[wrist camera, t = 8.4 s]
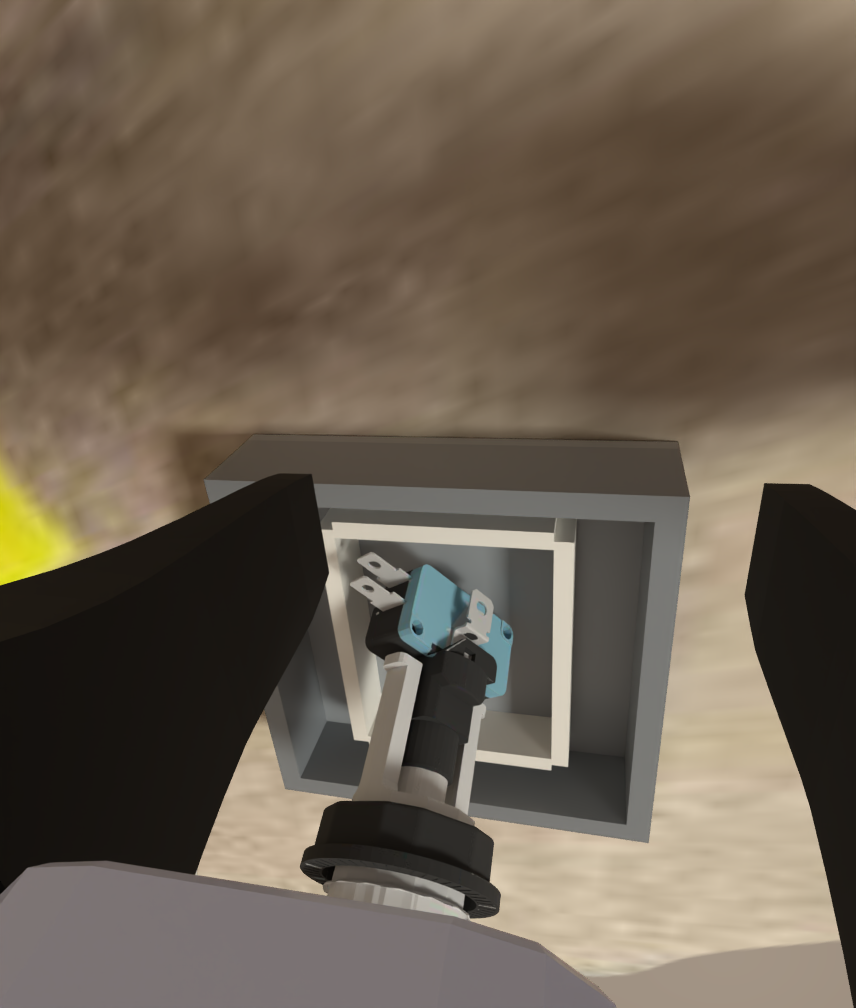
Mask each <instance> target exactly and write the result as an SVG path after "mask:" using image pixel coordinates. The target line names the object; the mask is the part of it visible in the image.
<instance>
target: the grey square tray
mask: <svg viewBox="0 0 856 1008" xmlns="http://www.w3.org/2000/svg"><path fill="white" fill-rule="evenodd" d="M278 473H291V474H312V478H313V483H314V489H315V495H316V500H317V506H318V512H319V517H320V522H321V521H322V519H323V518H324V516H325V515H326V513H327V512H328V511H329V509H330V508H342V509H365V510H388V511H410V512H433V513H455V514H478V515H501V516H523V517H546V518H568V519H577V529H576V562H575V595H574V628H573V662H572V695H571V727H570V743H569V760H568V767H564V766H556V765H552V767H551V770H543V769H535V768H527V767H520V766H512V765H504V764H497V763H489V762H481V761H475V765H474V773H473V780H472V787H471V794H470V801H469V808H468V816H470V817H477V818H483V819H490V820H497V821H504V822H510V823H517V824H524V825H531V826H537V827H544V828H551V829H557V830H564V831H571V832H578V833H584V834H591V835H598V836H605V837H611V838H618V839H625V840H631V841H638V842H645V843H649V835H650V827H651V818H652V810H653V802H654V793H655V785H656V777H657V768H658V760H659V752H660V743H661V735H662V727H663V718H664V710H665V702H666V693H667V685H668V677H669V668H670V660H671V651H672V643H673V635H674V626H675V618H676V610H677V601H678V593H679V585H680V576H681V568H682V560H683V551H684V543H685V535H686V526H687V518H688V510H689V501H690V495H689V490H688V485H687V481H686V476H685V472H684V467H683V462H682V458H681V453H680V448H679V444H678V442H658V441H602V440H547V439H491V438H435V437H380V436H324V435H268V434H254V435H252V436H251V437H250V438H249V439H248V440H247V441H246V442H245V443H244V444H243V445H241V446H240V447H239V448H238V449H237V450H236V451H235V452H234V453H233V454H231V455H230V456H229V457H228V458H227V459H226V460H225V461H224V462H223V463H222V464H220V465H219V466H218V467H217V468H216V469H215V470H214V471H213V472H212V473H210V474H209V475H208V476H207V477H206V478H205V479H204V483H205V487H206V491H207V494H208V498H209V502H210V504H211V503H213V502H215V501H217V500H219V499H221V498H223V497H225V496H227V495H229V494H231V493H233V492H235V491H237V490H239V489H241V488H243V487H246V486H248V485H250V484H252V483H254V482H257V481H259V480H261V479H264V478H266V477H269V476H272V475H275V474H278ZM358 540H359V547H360V554H361V556H363V555H365V554H367V553H369V552H373V553H375V554H376V555H378V556H379V557H381V558H382V559H383V560H385V561H386V562H387V563H389V564H390V565H391V566H393V567H394V568H396V569H398V568H401V569H402V570H403V571H405V572H408V571H411V570H413V569H416V568H418V567H421V566H423V565H426V564H428V565H430V566H432V567H433V568H434V569H436V570H437V571H438V572H439V573H441V574H442V575H443V576H445V577H446V578H447V579H449V580H450V581H451V582H453V583H454V584H455V585H456V586H458V587H459V588H460V589H462V590H463V591H464V592H466V593H467V594H468V595H470V594H471V591H473V590H475V589H477V590H479V591H480V592H481V593H482V594H484V595H485V596H486V597H488V598H489V599H490V600H491V601H492V604H493V606H494V609H493V614H494V615H496V616H497V617H498V618H500V619H501V620H503V621H505V622H506V623H507V624H508V625H509V626H510V627H511V629H512V631H513V643H512V646H511V654H510V662H509V670H508V679H507V687H506V692H505V694H504V695H502V696H498V697H493V698H489V699H485V700H484V702H483V704H484V705H485V706H486V710H488V711H497V712H506V713H515V714H524V715H533V716H542V717H551V718H552V663H553V577H554V550H542V549H524V548H506V547H487V546H469V545H451V544H433V543H415V542H397V541H378V540H360V539H358ZM369 564H370V565H372V566H374V567H380V566H381V565H380V564H379V563H378V562H375V561H371V562H369ZM362 567H363V574H364V576H367V577H369V578H370V579H371V580H373V581H374V582H376V583H377V584H378V585H380V586H381V587H383V588H384V589H385V588H386V586H385V585H384V584H383V583H381V582H380V581H378V580H377V577H378V576H376V575H375V574H373V573H372V572H371V571H369V570H368V569H366V568H365V567H364V566H362ZM365 587H366V590H369V591H372V590H374V588H373V587H371V586H369V585H365ZM367 600H368V607H369V614H370V620H371V616H372V612H373V610H374V608H375V607H376V606H374V605H373V604H371V603H370V601H371V600H370V599H369V598H367ZM479 603H480V604H481V605H483V604H482V603H481V602H479ZM376 661H377V667H378V674H379V681H380V687H381V694H382V691H383V687H384V683H385V678H386V674H387V671H386V670H385V669H384V668H383V665H384V660H383V659H381V658H380V657H378V656H376ZM264 710H265V714H266V718H267V722H268V725H269V729H270V733H271V737H272V740H273V744H274V748H275V752H276V756H277V759H278V763H279V767H280V771H281V775H282V778H283V782H284V786H285V789H288V790H295V791H302V792H309V793H315V794H322V795H329V796H335V797H342V798H349V799H352V798H353V795H354V794H355V792H356V791H357V789H358V787H359V784H360V781H361V777H362V773H363V769H364V765H365V761H366V757H367V752H368V748H369V742H367V741H359V740H354V737H353V731H352V726H351V720H350V715H349V710H348V704H347V699H346V693H345V688H344V682H343V677H342V671H341V666H340V660H339V655H338V650H337V644H336V639H335V633H334V628H333V622H332V617H331V611H330V606H329V600H328V595H327V590H326V584H325V587H324V590H323V593H322V596H321V599H320V602H319V604H318V607H317V609H316V612H315V615H314V617H313V620H312V622H311V624H310V626H309V628H308V629H307V631H306V633H305V635H304V637H303V639H302V641H301V643H300V644H299V646H298V648H297V650H296V652H295V654H294V656H293V657H292V659H291V661H290V663H289V665H288V666H287V668H286V670H285V672H284V674H283V675H282V677H281V679H280V681H279V683H278V685H277V686H276V688H275V690H274V692H273V694H272V695H271V697H270V699H269V701H268V703H267V704H266V706H265V708H264Z"/></svg>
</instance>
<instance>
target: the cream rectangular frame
mask: <svg viewBox="0 0 856 1008" xmlns="http://www.w3.org/2000/svg"><path fill="white" fill-rule="evenodd" d="M320 523H321V529H322V534H323V540H324V546H325V551H326V557H327V563H328V568H329V575H328V578H327V581H326V590H327V595H328V600H329V606H330V611H331V617H332V622H333V628H334V633H335V639H336V644H337V650H338V655H339V660H340V666H341V671H342V677H343V682H344V688H345V693H346V699H347V704H348V710H349V715H350V720H351V726H352V731H353V737H354V740H359V741H367V742H369V744H370V740H371V736H372V732H373V728H374V724H375V720H376V715H377V711H378V707H379V703H380V699H381V695H382V694H381V687H380V681H379V674H378V667H377V661H376V655H375V654H373V653H372V652H370V651H369V650H368V649H367V647H366V644H365V638H366V634H367V630H368V627H369V623H370V614H369V607H368V600H367V597H366V596H364V595H363V594H362V593H360V592H359V591H357V590H356V589H354V588H353V587H351V586H350V581H352V580H355V579H357V578H359V577H362V576H364V574H363V567H362V565H361V564H359V563H358V562H357V558H359V557H361V554H360V547H359V540H358V539H360V540H378V541H397V542H415V543H433V544H451V545H469V546H487V547H506V548H524V549H542V550H554V577H553V663H552V718H551V717H542V716H533V715H524V714H515V713H506V712H497V711H488V710H486V712H485V718H483V719H481V723H480V730H479V737H478V744H477V751H476V758H475V761H481V762H489V763H497V764H504V765H512V766H520V767H527V768H535V769H543V770H551V767H552V765H556V766H564V767H568V760H569V743H570V727H571V695H572V662H573V628H574V595H575V562H576V529H577V519H568V518H546V517H523V516H501V515H478V514H455V513H433V512H410V511H388V510H365V509H342V508H330V509H329V511H328V512H327V513H326V515H325V516H324V518H323V519H322V521H321V522H320ZM362 587H363V588H364V589H366V587H365V585H363V586H362Z"/></svg>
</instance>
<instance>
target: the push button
mask: <svg viewBox="0 0 856 1008" xmlns="http://www.w3.org/2000/svg"><path fill="white" fill-rule="evenodd" d="M371 561H375V562H378V563H379V564H380V565H381V566H380V567H374V566H372V565H370V564H369V562H371ZM357 562H358V563H359V564H361V565H362V566H364V567H365V568H366V569H368V570H369V571H371V572H372V573H373V574H375V575H376V576H378V577H377V580H378V581H380V582H381V583H383V584H384V585H385V586H386V588H385V589H384V588H383V587H381V586H380V585H378V584H377V583H376V582H374V581H373V580H371V579H370V578H369V577H367V576H362V577H359V578H357V579H355V580H352V581H350V586H351V587H353V588H354V589H356V590H357V591H359V592H360V593H362V594H363V595H364V596H366V597H367V598H369V599H370V600H371V601H370V603H371V604H373V605H374V606H376V607H375V608H374V610H373V612H372V616H371V620H370V623H369V627H368V630H367V634H366V638H365V644H366V647H367V649H368V650H369V651H370V652H372V653H373V654H375V655H376V656H378V657H380V658H381V659H383V660H384V665H383V668H384V669H385V670H386V671H387V674H386V678H385V683H384V687H383V691H382V695H381V699H380V703H379V707H378V711H377V715H376V720H375V724H374V728H373V732H372V736H371V740H370V744H369V748H368V752H367V757H366V761H365V765H364V769H363V773H362V777H361V781H360V784H359V787H358V789H357V791H356V792H355V794H354V795H353V798H352V801H339V802H336V803H334V804H332V805H330V806H328V807H327V808H325V810H324V812H323V816H322V820H321V823H320V827H319V831H318V834H317V838H316V842H315V845H313V846H310V847H308V848H306V849H305V851H304V854H303V857H302V861H301V864H300V869H301V870H302V872H303V873H304V874H305V875H307V876H308V877H309V878H311V879H313V880H314V881H316V882H318V883H320V884H322V885H323V889H324V892H326V893H328V895H327V896H330V897H336V898H343V899H349V900H355V901H361V902H368V903H374V904H380V905H386V906H393V907H399V908H405V909H411V910H418V911H424V912H430V913H437V914H443V915H449V916H455V917H458V918H462V919H465V920H468V921H470V918H486V917H491V916H494V915H496V914H497V913H498V912H499V907H500V897H501V894H500V892H499V890H498V889H497V888H496V887H495V886H494V885H492V884H491V883H490V874H491V865H492V856H493V847H494V842H493V840H492V838H490V837H489V836H488V835H486V834H485V833H484V832H482V831H481V830H479V829H478V828H477V827H475V826H474V824H475V821H474V820H472V819H471V818H470V817H469V816H468V808H469V801H470V794H471V787H472V780H473V773H474V765H475V758H476V751H477V744H478V737H479V730H480V723H481V719H483V718H485V712H486V706H485V705H484V704H483V702H484V700H485V699H489V698H493V697H498V696H502V695H504V694H505V692H506V687H507V679H508V670H509V662H510V654H511V646H512V643H513V631H512V629H511V627H510V626H509V625H508V624H507V623H506V622H505V621H503V620H501V619H500V618H498V617H497V616H496V615H494V614H493V609H494V606H493V604H492V601H491V600H490V599H489V598H488V597H486V596H485V595H484V594H482V593H481V592H480V591H479V590H477V589H475V590H473V591H471V594H470V595H468V594H467V593H466V592H464V591H463V590H462V589H460V588H459V587H458V586H456V585H455V584H454V583H453V582H451V581H450V580H449V579H447V578H446V577H445V576H443V575H442V574H441V573H439V572H438V571H437V570H436V569H434V568H433V567H432V566H430V565H428V564H426V565H423V566H421V567H418V568H416V569H413V570H411V571H408V572H405V571H403V570H402V569H401V568H398V569H396V568H394V567H393V566H391V565H390V564H389V563H387V562H386V561H385V560H383V559H382V558H381V557H379V556H378V555H376V554H375V553H373V552H369V553H367V554H365V555H363V556H361V557H359V558H357ZM363 585H369V586H371V587H373V588H374V590H372V591H369V590H366V589H364V588H363V587H362V586H363ZM479 602H481V603H482V604H483V605H481V604H480V603H479Z"/></svg>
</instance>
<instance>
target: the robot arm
mask: <svg viewBox="0 0 856 1008" xmlns="http://www.w3.org/2000/svg"><path fill="white" fill-rule="evenodd" d="M328 575H329V568H328V563H327V557H326V551H325V546H324V540H323V534H322V529H321V523H320V517H319V512H318V506H317V500H316V495H315V489H314V483H313V478H312V474H291V473H278V474H275V475H272V476H269V477H266V478H264V479H261V480H259V481H257V482H254V483H252V484H250V485H248V486H246V487H243V488H241V489H239V490H237V491H235V492H233V493H231V494H229V495H227V496H225V497H223V498H221V499H219V500H217V501H215V502H213V503H211V504H209V505H207V506H205V507H203V508H201V509H199V510H197V511H195V512H192V513H190V514H188V515H186V516H184V517H182V518H180V519H178V520H176V521H174V522H171V523H169V524H167V525H165V526H163V527H160V528H158V529H156V530H154V531H152V532H149V533H147V534H145V535H143V536H141V537H138V538H136V539H134V540H132V541H129V542H127V543H125V544H122V545H120V546H117V547H115V548H112V549H110V550H107V551H105V552H102V553H100V554H97V555H94V556H92V557H89V558H86V559H83V560H80V561H78V562H75V563H72V564H69V565H67V566H64V567H61V568H58V569H55V570H52V571H48V572H45V573H41V574H38V575H35V576H31V577H28V578H24V579H21V580H17V581H14V582H11V583H7V584H4V585H0V1008H616V1005H615V1004H614V1003H613V1002H612V1000H610V998H608V996H607V995H606V994H605V993H604V992H603V991H602V990H601V989H600V988H599V987H598V986H597V985H596V984H594V983H592V982H591V981H590V980H589V979H587V978H586V977H585V976H583V975H582V974H580V973H579V972H578V971H576V970H575V969H574V968H572V967H571V966H569V965H568V964H567V963H565V962H564V961H563V960H561V959H560V958H558V957H557V956H556V955H554V954H553V953H552V952H550V951H549V950H547V949H546V948H545V947H543V946H542V945H541V944H539V943H538V942H535V941H531V940H528V939H525V938H522V937H519V936H516V935H512V934H509V933H506V932H503V931H500V930H496V929H493V928H490V927H487V926H484V925H481V924H477V923H474V922H471V921H468V920H465V919H462V918H458V917H455V916H449V915H443V914H437V913H430V912H424V911H418V910H411V909H405V908H399V907H393V906H386V905H380V904H374V903H368V902H361V901H355V900H349V899H343V898H336V897H330V896H324V895H318V894H311V893H305V892H299V891H293V890H286V889H280V888H274V887H267V886H261V885H255V884H249V883H242V882H236V881H230V880H224V879H217V878H211V877H205V876H199V875H195V874H196V871H197V868H198V865H199V862H200V859H201V856H202V854H203V851H204V849H205V846H206V843H207V841H208V838H209V835H210V833H211V830H212V827H213V825H214V822H215V819H216V817H217V814H218V812H219V809H220V806H221V804H222V801H223V798H224V796H225V793H226V791H227V789H228V786H229V784H230V781H231V779H232V777H233V774H234V772H235V769H236V767H237V764H238V762H239V760H240V757H241V755H242V752H243V750H244V747H245V745H246V743H247V741H248V739H249V737H250V735H251V733H252V731H253V729H254V727H255V725H256V723H257V721H258V719H259V717H260V715H261V714H262V712H263V710H264V708H265V706H266V704H267V703H268V701H269V699H270V697H271V695H272V694H273V692H274V690H275V688H276V686H277V685H278V683H279V681H280V679H281V677H282V675H283V674H284V672H285V670H286V668H287V666H288V665H289V663H290V661H291V659H292V657H293V656H294V654H295V652H296V650H297V648H298V646H299V644H300V643H301V641H302V639H303V637H304V635H305V633H306V631H307V629H308V628H309V626H310V624H311V622H312V620H313V617H314V615H315V612H316V609H317V607H318V604H319V602H320V599H321V596H322V593H323V590H324V587H325V584H326V581H327V578H328ZM745 600H746V605H747V611H748V616H749V622H750V627H751V632H752V637H753V641H754V646H755V651H756V654H757V657H758V660H759V662H760V665H761V668H762V671H763V674H764V677H765V680H766V682H767V685H768V688H769V691H770V694H771V696H772V699H773V702H774V705H775V708H776V710H777V713H778V716H779V719H780V721H781V724H782V727H783V730H784V732H785V735H786V738H787V741H788V743H789V746H790V749H791V752H792V754H793V757H794V760H795V763H796V765H797V768H798V771H799V774H800V777H801V779H802V783H803V786H804V789H805V792H806V796H807V799H808V802H809V805H810V809H811V813H812V817H813V821H814V825H815V829H816V834H817V838H818V842H819V846H820V850H821V855H822V859H823V863H824V867H825V871H826V876H827V880H828V885H829V889H830V894H831V899H832V903H833V908H834V913H835V917H836V922H837V926H838V931H839V936H840V940H841V945H842V950H843V954H844V959H845V964H846V969H847V975H848V980H849V985H850V990H851V996H852V1000H853V1006H854V1008H856V510H855V509H853V508H851V507H850V506H848V505H846V504H845V503H843V502H842V501H840V500H838V499H836V498H835V497H833V496H831V495H830V494H828V493H826V492H824V491H822V490H820V489H818V488H816V487H814V486H812V485H810V484H772V483H764V488H763V494H762V500H761V505H760V511H759V517H758V522H757V528H756V534H755V539H754V545H753V551H752V556H751V562H750V568H749V573H748V579H747V585H746V590H745Z"/></svg>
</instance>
